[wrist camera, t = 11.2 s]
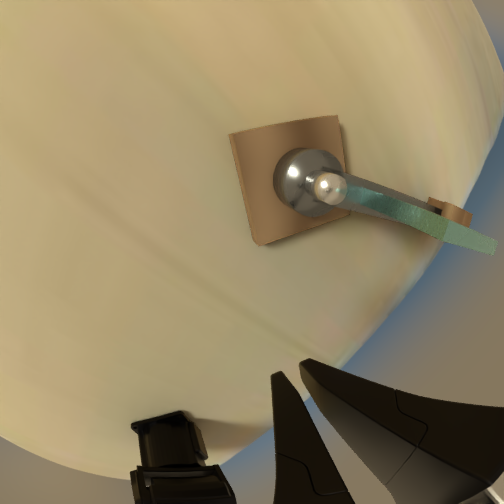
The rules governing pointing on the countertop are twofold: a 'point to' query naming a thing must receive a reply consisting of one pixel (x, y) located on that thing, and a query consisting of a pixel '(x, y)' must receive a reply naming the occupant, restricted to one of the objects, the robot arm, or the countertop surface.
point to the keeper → (452, 212)
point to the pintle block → (262, 169)
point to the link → (361, 198)
